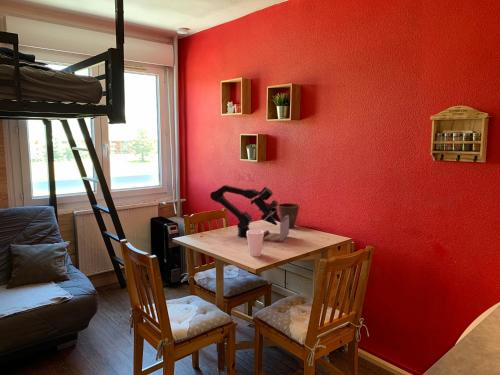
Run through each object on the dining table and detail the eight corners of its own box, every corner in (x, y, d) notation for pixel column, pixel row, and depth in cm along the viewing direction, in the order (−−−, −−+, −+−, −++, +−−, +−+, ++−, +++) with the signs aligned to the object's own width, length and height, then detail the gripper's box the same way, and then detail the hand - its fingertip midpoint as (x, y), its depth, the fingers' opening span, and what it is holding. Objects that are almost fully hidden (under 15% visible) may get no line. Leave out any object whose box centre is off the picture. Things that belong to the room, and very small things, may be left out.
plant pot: (298, 229, 263) (298, 207, 261) (276, 228, 266) (276, 206, 264) (299, 225, 277) (299, 203, 275) (279, 224, 280) (279, 203, 278)
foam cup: (254, 251, 214) (254, 228, 213) (267, 254, 209) (267, 231, 207) (243, 255, 207) (243, 232, 205) (256, 258, 201) (256, 234, 200)
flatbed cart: (259, 240, 235) (259, 236, 235) (266, 234, 250) (266, 230, 250) (279, 242, 231) (279, 238, 231) (286, 236, 246) (286, 231, 245)
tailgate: (279, 240, 231) (280, 220, 229) (286, 234, 246) (286, 215, 244) (282, 240, 230) (282, 220, 228) (289, 234, 245) (289, 215, 243)
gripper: (266, 198, 229) (283, 217, 227) (274, 194, 246) (290, 212, 244) (253, 210, 233) (271, 229, 230) (263, 205, 250) (279, 223, 248)
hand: (278, 223), depth 238 cm, fingers open, 9 cm apart
